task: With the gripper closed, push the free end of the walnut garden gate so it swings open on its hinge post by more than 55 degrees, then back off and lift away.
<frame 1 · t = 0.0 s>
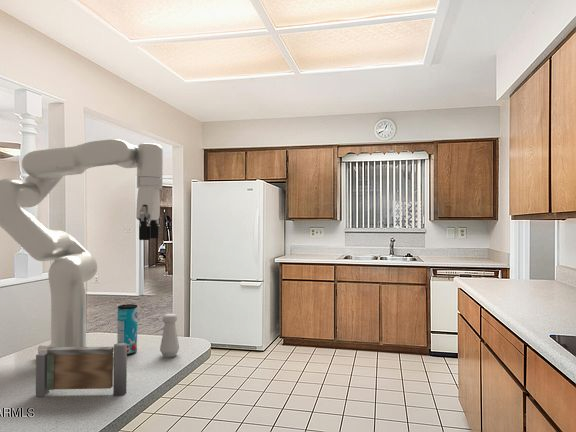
hand: (149, 239, 129), 37 cm above the table, tool pointing down, fingers open, 9 cm apart
beverage can: (127, 353, 134), on the table
gate: (80, 368, 103), point 6 cm above the table, hinge at 0.0°
salt shaker: (169, 356, 132), on the table
hinge post: (119, 393, 103), on the table
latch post: (42, 394, 102), on the table
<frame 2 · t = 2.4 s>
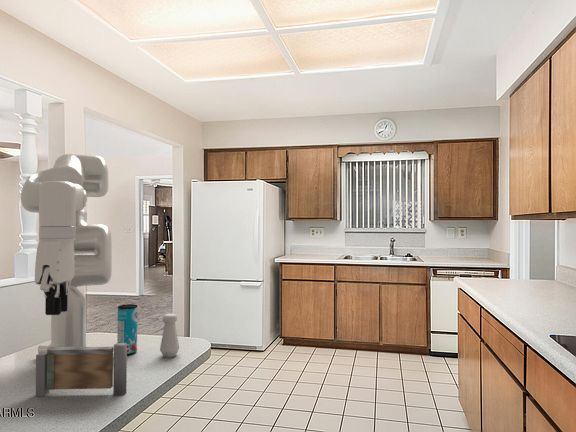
hand: (56, 312, 98), 21 cm above the table, tool pointing down, fingers closed
nothing on the table moved.
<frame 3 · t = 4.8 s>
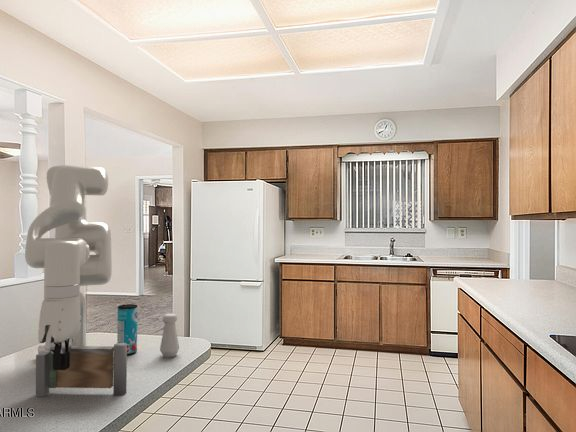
hand: (61, 368, 100), 7 cm above the table, tool pointing down, fingers closed
gate: (81, 367, 103), point 6 cm above the table, hinge at 4.1°
everything else where it was.
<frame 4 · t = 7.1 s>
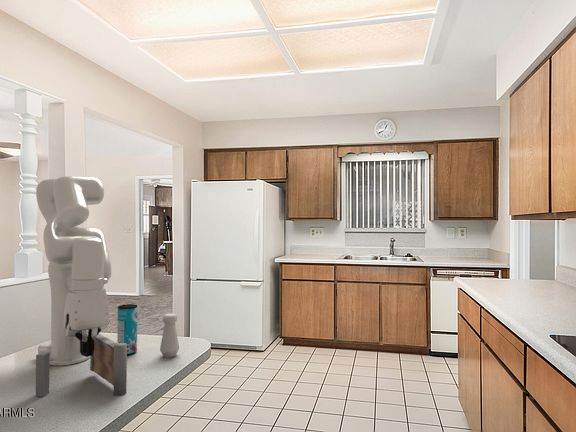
hand: (87, 355, 109), 7 cm above the table, tool pointing down, fingers closed
gate: (104, 358, 110), point 6 cm above the table, hinge at 48.6°, touching gripper
everything else where it was.
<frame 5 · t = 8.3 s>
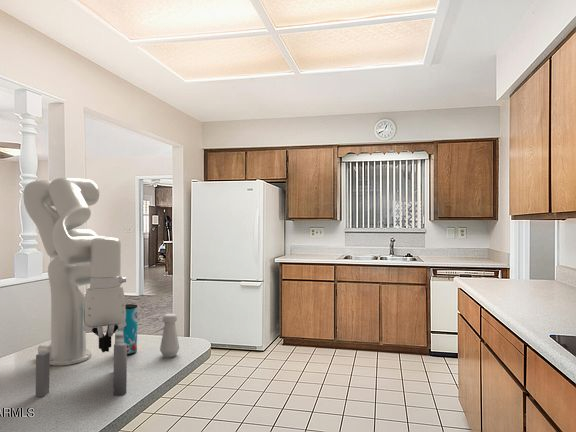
hand: (104, 350, 113), 7 cm above the table, tool pointing down, fingers closed
gate: (119, 355, 112), point 6 cm above the table, hinge at 70.5°, touching gripper
everything else where it was.
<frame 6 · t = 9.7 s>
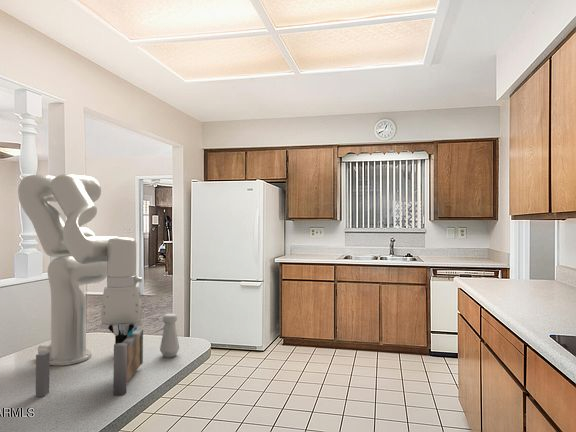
hand: (121, 348, 115), 7 cm above the table, tool pointing down, fingers closed
gate: (131, 354, 113), point 6 cm above the table, hinge at 89.2°, touching gripper
everything else where it was.
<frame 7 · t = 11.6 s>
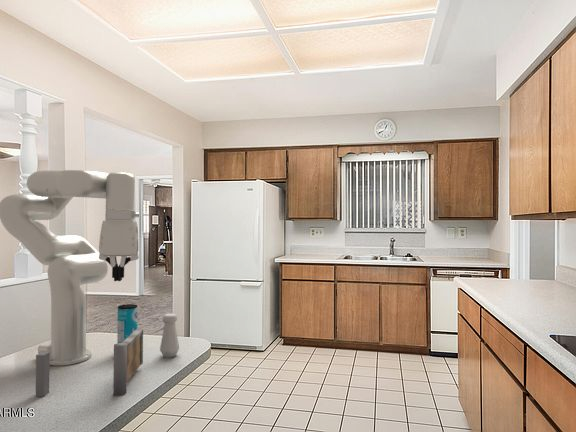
hand: (118, 280, 119), 25 cm above the table, tool pointing down, fingers closed
gate: (131, 354, 113), point 6 cm above the table, hinge at 89.3°
everything else where it was.
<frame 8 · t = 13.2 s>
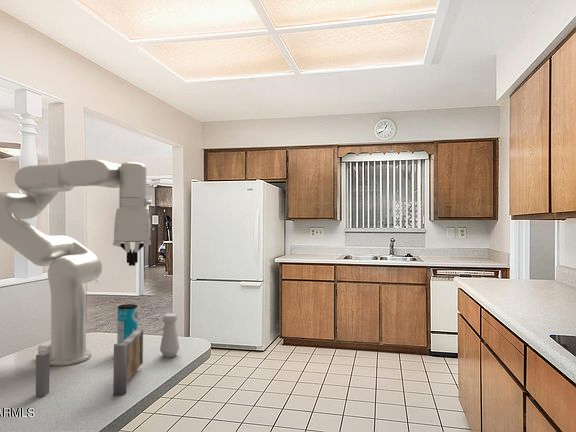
hand: (132, 265, 125), 29 cm above the table, tool pointing down, fingers closed
nothing on the table moved.
at the end: gate at +89° (first picture: +0°); beverage can moved 0.2 cm from its start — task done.
